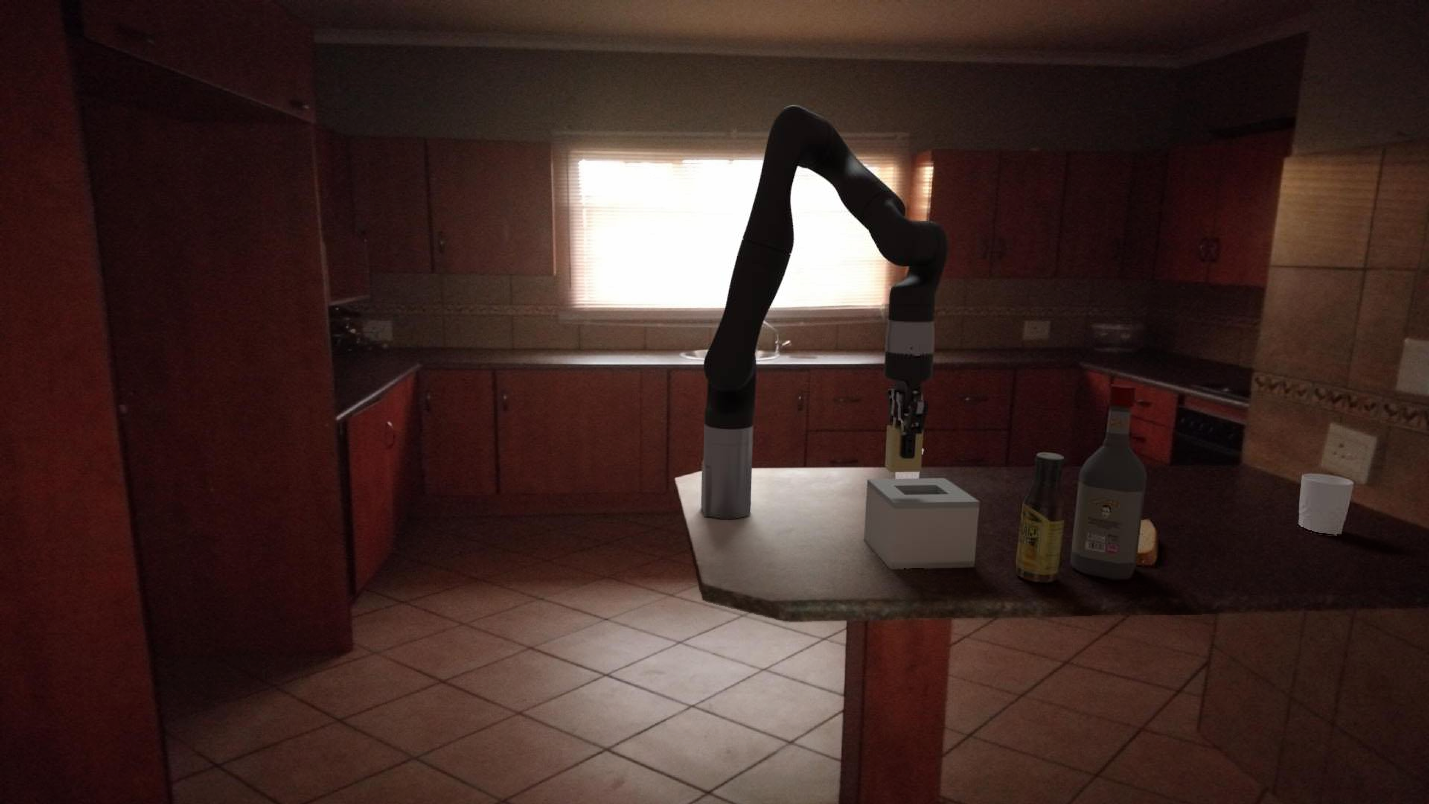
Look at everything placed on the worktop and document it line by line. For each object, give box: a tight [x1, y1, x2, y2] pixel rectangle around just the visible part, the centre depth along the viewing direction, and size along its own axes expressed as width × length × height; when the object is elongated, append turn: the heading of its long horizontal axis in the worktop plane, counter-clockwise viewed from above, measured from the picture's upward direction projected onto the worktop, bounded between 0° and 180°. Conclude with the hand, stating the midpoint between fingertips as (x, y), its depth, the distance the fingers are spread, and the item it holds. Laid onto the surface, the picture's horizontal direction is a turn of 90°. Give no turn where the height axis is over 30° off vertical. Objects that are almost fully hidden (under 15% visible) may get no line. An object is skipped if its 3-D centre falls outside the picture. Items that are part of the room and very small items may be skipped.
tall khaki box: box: [884, 424, 924, 473], centre depth 135 cm, size 5×3×7 cm, turn 96°
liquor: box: [1069, 383, 1148, 581], centre depth 133 cm, size 9×9×30 cm
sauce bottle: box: [1015, 452, 1067, 584], centre depth 129 cm, size 6×6×20 cm
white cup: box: [1298, 473, 1354, 536], centre depth 157 cm, size 8×8×10 cm
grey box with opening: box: [863, 477, 980, 570], centre depth 139 cm, size 14×14×11 cm
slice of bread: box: [1136, 518, 1159, 566], centre depth 147 cm, size 18×18×4 cm
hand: (903, 455), depth 135 cm, fingers closed on tall khaki box, 3 cm apart
